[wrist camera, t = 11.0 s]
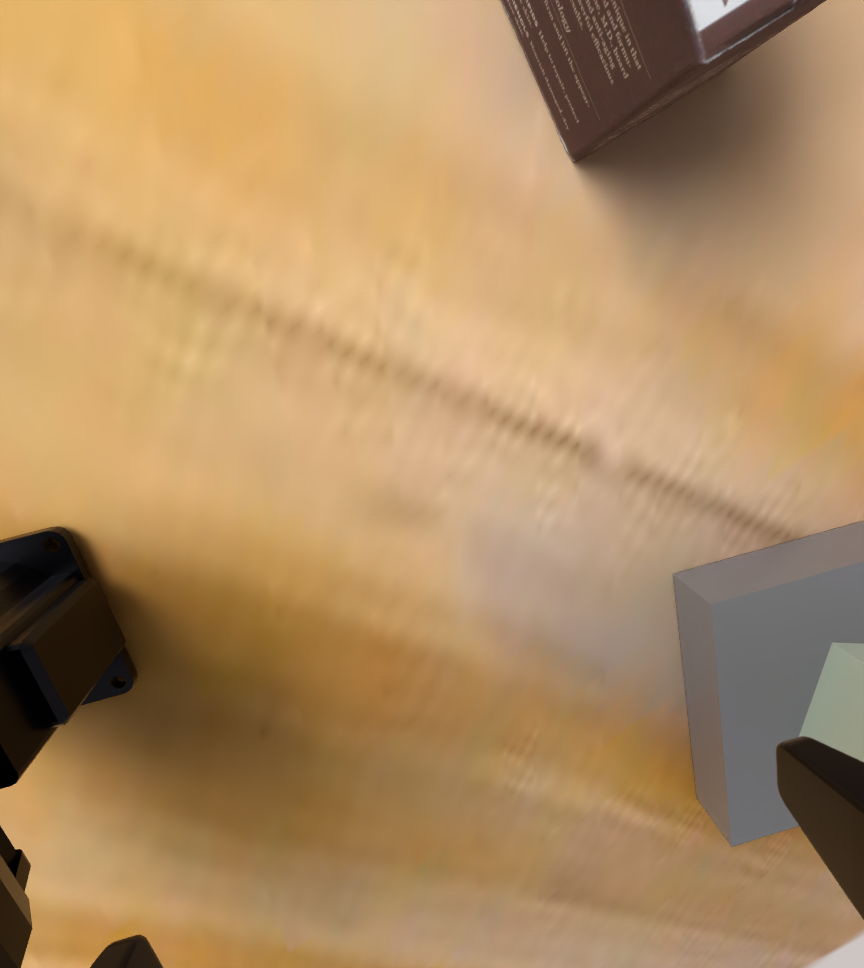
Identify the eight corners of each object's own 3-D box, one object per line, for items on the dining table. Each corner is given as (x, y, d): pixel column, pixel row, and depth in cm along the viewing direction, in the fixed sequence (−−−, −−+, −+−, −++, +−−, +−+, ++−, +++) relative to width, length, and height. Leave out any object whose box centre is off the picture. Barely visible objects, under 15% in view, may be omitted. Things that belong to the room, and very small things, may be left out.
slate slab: (696, 798, 26) (731, 846, 23) (672, 574, 22) (711, 604, 20) (930, 727, 26) (987, 767, 24) (944, 497, 23) (1013, 518, 20)
